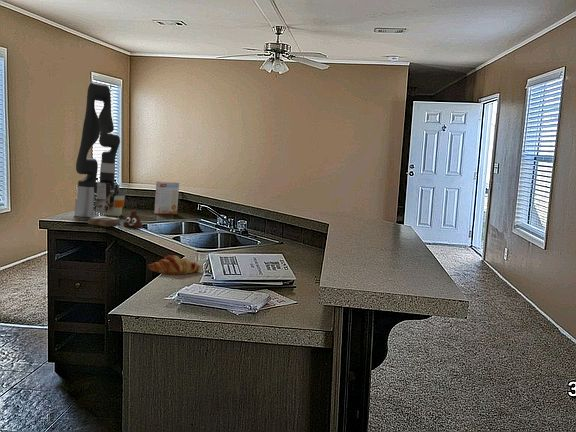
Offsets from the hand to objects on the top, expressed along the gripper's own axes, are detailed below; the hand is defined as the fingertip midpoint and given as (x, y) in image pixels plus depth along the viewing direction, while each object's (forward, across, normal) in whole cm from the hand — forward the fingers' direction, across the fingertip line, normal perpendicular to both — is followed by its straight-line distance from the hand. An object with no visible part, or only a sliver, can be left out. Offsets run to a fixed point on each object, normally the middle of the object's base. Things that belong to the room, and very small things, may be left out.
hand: (105, 202), depth 319 cm
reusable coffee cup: (+12, -14, +38) cm, 42 cm away
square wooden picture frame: (+12, 0, 0) cm, 12 cm away
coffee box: (+5, 0, 0) cm, 5 cm away
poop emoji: (+12, +15, +4) cm, 19 cm away
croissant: (+13, +74, -84) cm, 113 cm away
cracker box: (+12, +6, +70) cm, 71 cm away
